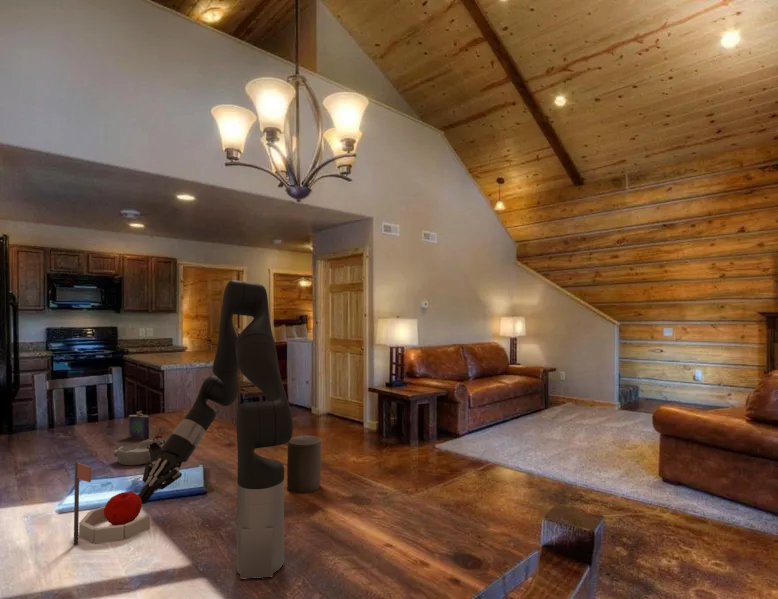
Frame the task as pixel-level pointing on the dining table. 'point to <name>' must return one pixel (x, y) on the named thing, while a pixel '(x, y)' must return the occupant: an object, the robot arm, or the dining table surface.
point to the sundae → (156, 447)
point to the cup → (101, 518)
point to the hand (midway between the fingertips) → (140, 502)
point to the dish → (134, 454)
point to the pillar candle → (303, 464)
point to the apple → (123, 508)
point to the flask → (138, 426)
